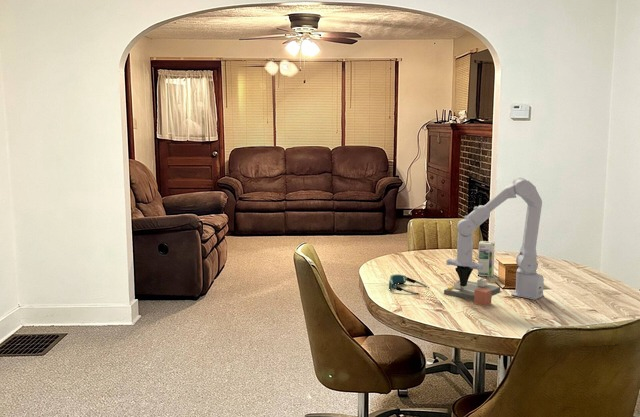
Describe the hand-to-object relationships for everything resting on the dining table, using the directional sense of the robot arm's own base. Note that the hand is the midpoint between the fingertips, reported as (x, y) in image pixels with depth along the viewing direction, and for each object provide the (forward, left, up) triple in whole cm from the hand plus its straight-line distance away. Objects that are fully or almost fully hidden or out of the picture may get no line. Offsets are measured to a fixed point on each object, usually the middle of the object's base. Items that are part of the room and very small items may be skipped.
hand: (463, 285), depth 233 cm
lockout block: (-12, +7, -3) cm, 14 cm away
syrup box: (+7, -31, -3) cm, 32 cm away
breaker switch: (-3, -9, -1) cm, 10 cm away
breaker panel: (-2, -4, -3) cm, 5 cm away
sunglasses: (+20, +9, -3) cm, 22 cm away
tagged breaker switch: (+2, 0, -1) cm, 3 cm away
